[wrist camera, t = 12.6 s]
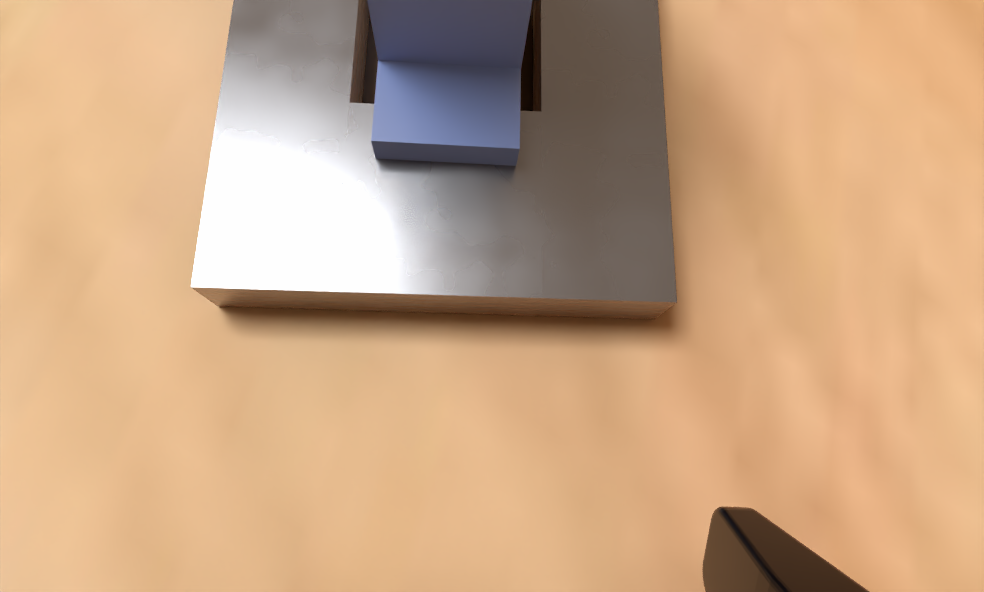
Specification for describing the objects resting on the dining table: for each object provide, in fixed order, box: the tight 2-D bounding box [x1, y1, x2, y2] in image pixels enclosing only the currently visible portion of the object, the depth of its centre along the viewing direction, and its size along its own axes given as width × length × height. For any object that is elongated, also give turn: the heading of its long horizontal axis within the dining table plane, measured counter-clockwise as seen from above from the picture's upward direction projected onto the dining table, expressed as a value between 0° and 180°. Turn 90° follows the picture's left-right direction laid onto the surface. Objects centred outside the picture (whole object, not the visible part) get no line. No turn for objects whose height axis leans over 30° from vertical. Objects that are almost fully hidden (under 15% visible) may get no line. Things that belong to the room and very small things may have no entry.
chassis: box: [191, 0, 677, 319], centre depth 20 cm, size 18×13×2 cm
